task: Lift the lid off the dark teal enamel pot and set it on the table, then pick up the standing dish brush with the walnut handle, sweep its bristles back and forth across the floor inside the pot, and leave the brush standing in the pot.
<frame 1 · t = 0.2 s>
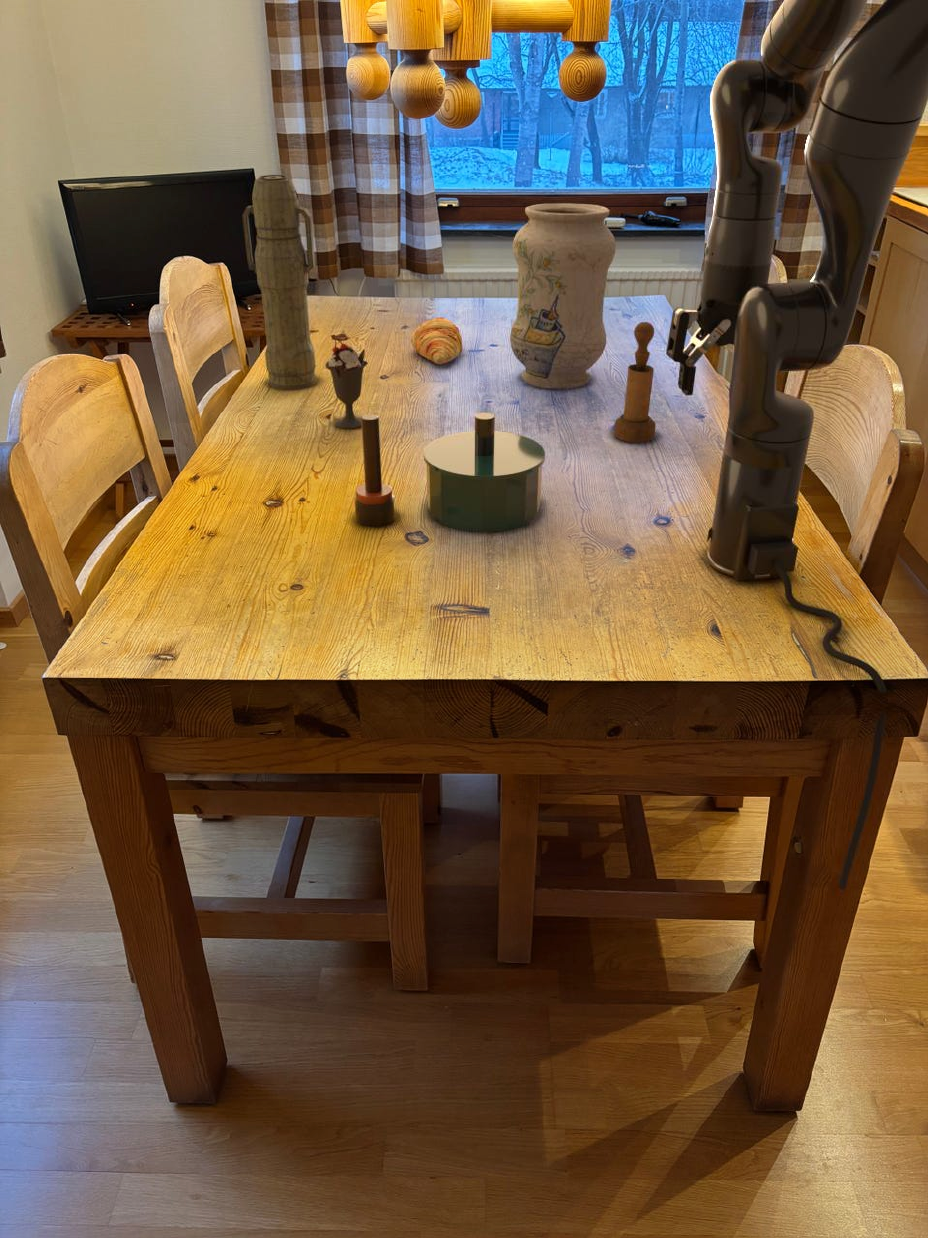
hand: (719, 391, 121), 17 cm above the table, tool pointing down, fingers open, 8 cm apart
lid: (484, 456, 129), point 7 cm above the table, touching pot
croissant: (436, 354, 195), on the table
brush: (375, 518, 130), on the table
vase: (556, 379, 181), on the table
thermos: (293, 382, 179), on the table
pot: (483, 507, 132), on the table
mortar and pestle: (633, 436, 156), on the table
sundae: (350, 424, 161), on the table
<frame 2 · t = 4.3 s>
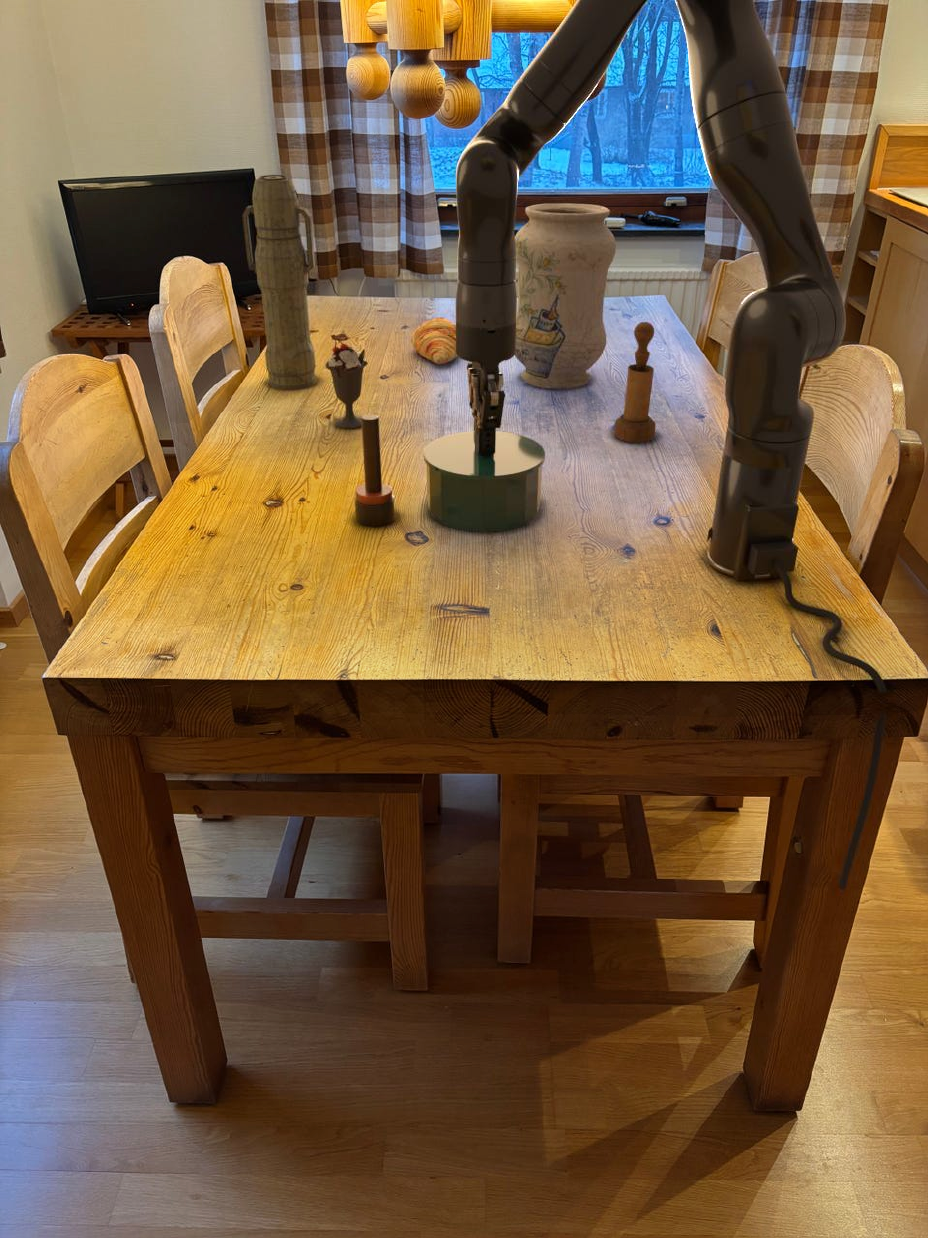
hand: (484, 449, 128), 9 cm above the table, tool pointing down, fingers closed on lid, 2 cm apart
lid: (484, 456, 129), point 7 cm above the table, touching gripper, pot
everything else where it was.
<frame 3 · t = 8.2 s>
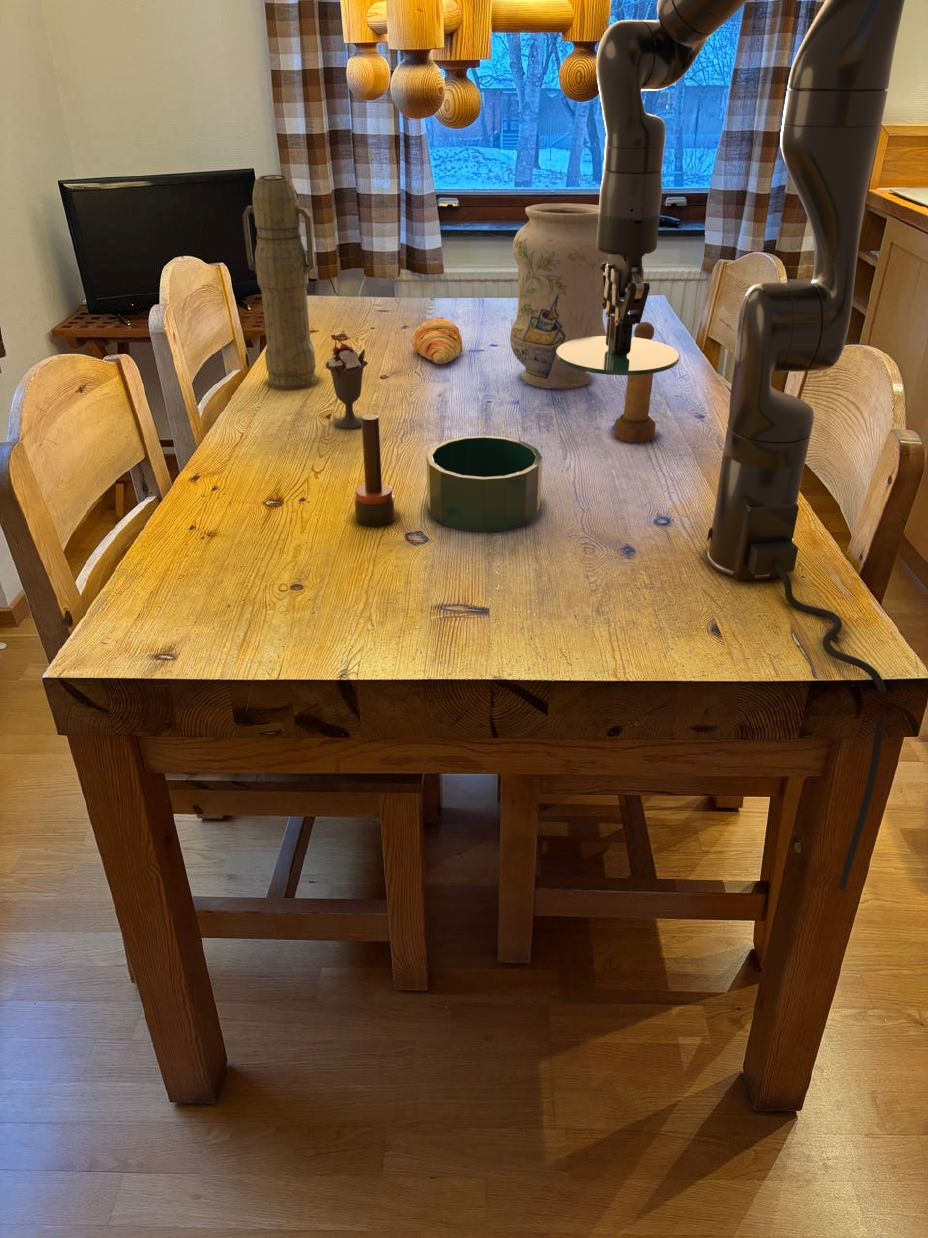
hand: (617, 349, 128), 20 cm above the table, tool pointing down, fingers closed on lid, 2 cm apart
lid: (617, 356, 128), point 19 cm above the table, touching gripper
everything else where it was.
when the fingers open (2 cm above the table, at t = 12.4 s): lid stays where it is, point 1 cm above the table.
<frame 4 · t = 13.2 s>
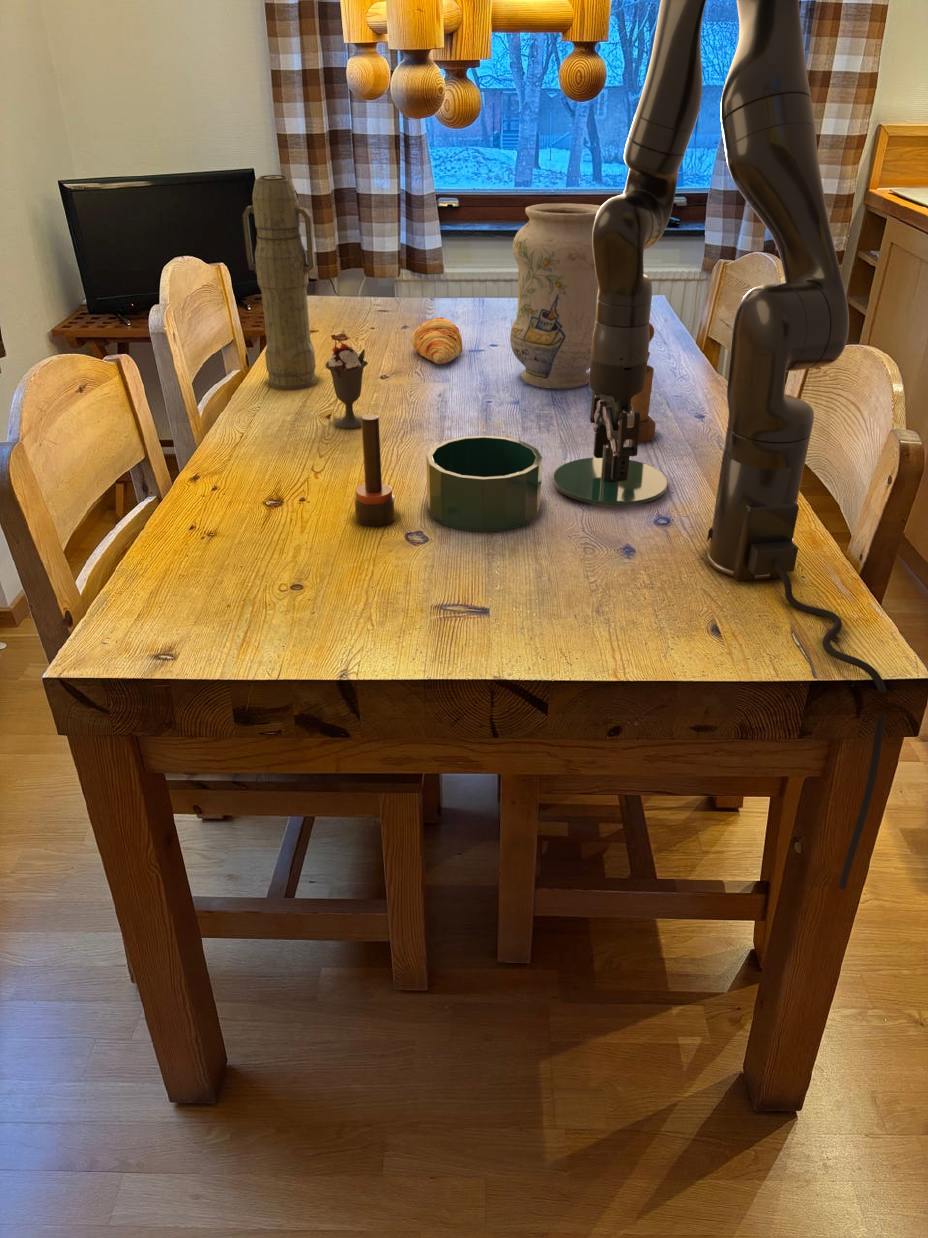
hand: (609, 468, 137), 3 cm above the table, tool pointing down, fingers open, 8 cm apart
lid: (609, 482, 138), point 1 cm above the table
everything else where it was.
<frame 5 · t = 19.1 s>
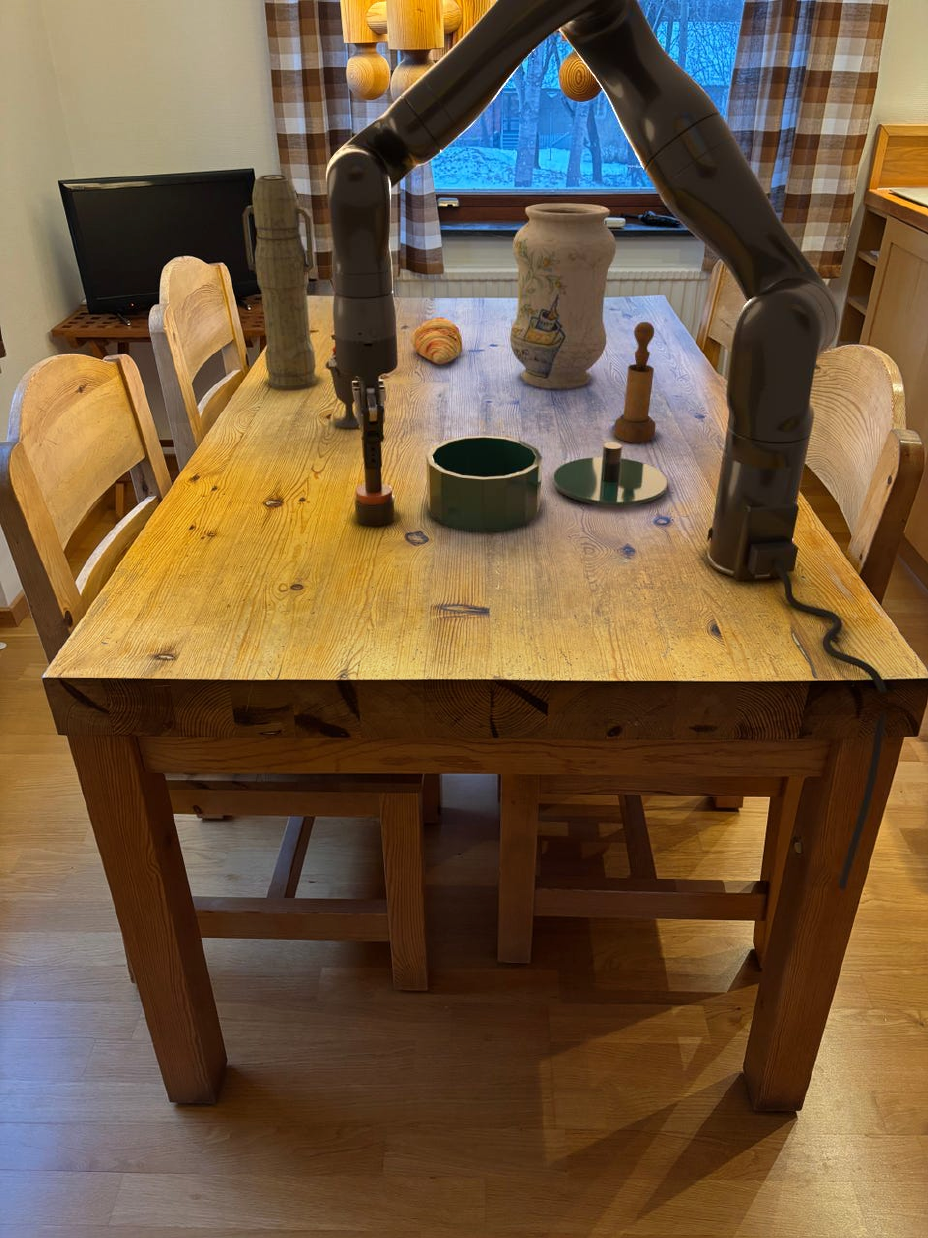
hand: (372, 463, 125), 8 cm above the table, tool pointing down, fingers closed on brush
brush: (375, 518, 129), on the table, touching gripper
everything else where it was.
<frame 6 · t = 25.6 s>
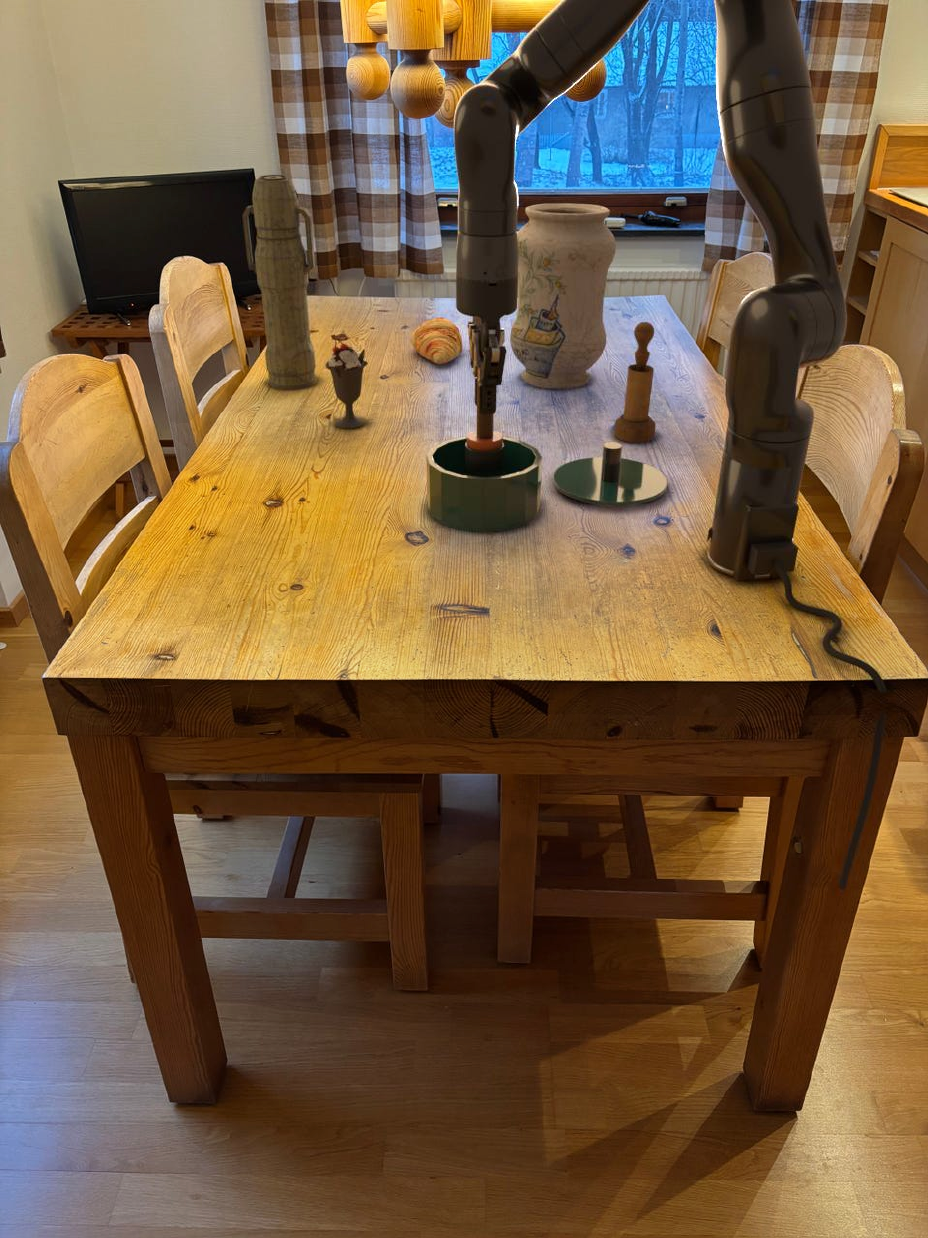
hand: (485, 409, 125), 14 cm above the table, tool pointing down, fingers closed on brush
brush: (484, 465, 129), point 6 cm above the table, touching gripper
everything else where it was.
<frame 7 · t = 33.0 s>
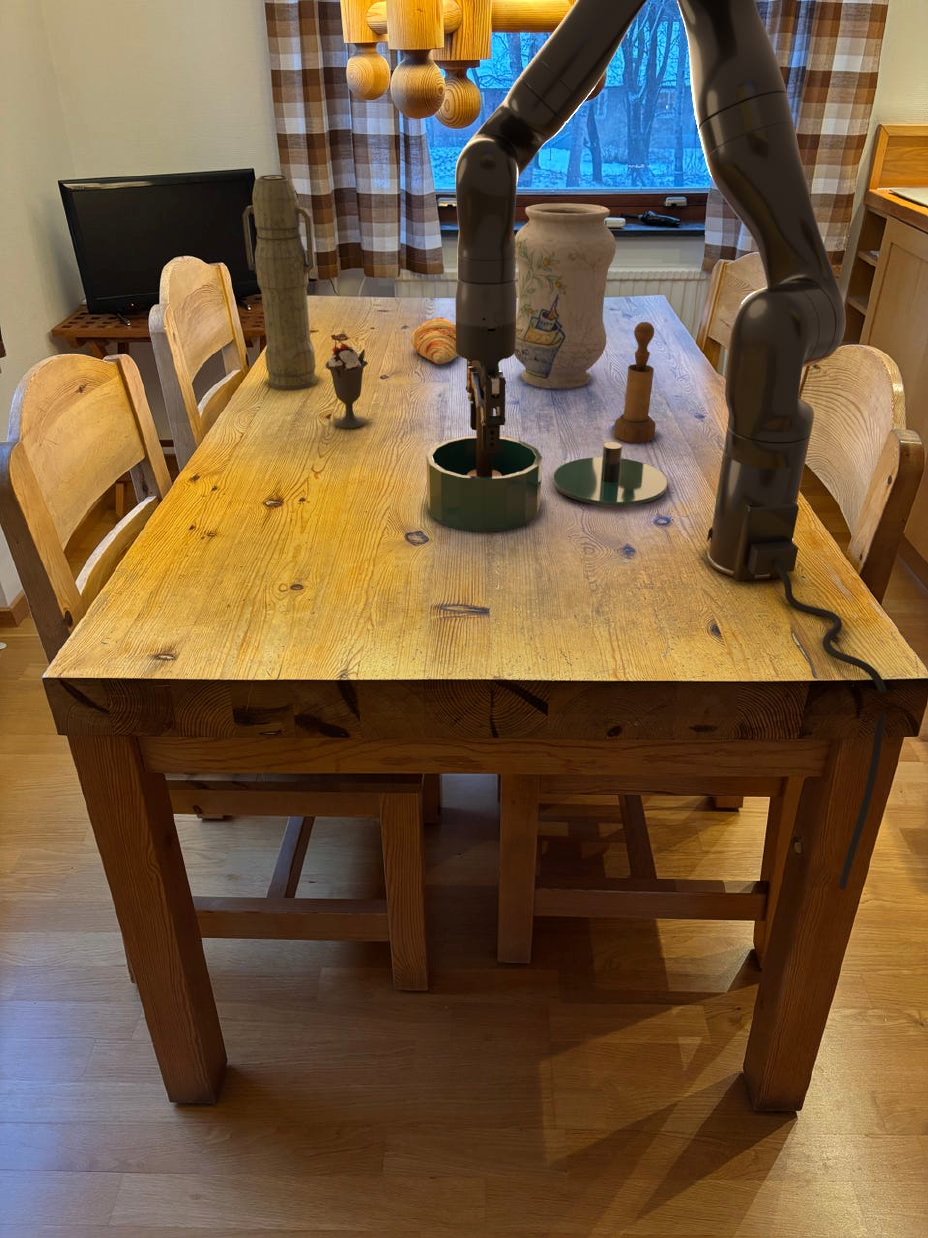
hand: (484, 440, 127), 10 cm above the table, tool pointing down, fingers open, 8 cm apart
brush: (483, 503, 132), resting on pot
everything else where it was.
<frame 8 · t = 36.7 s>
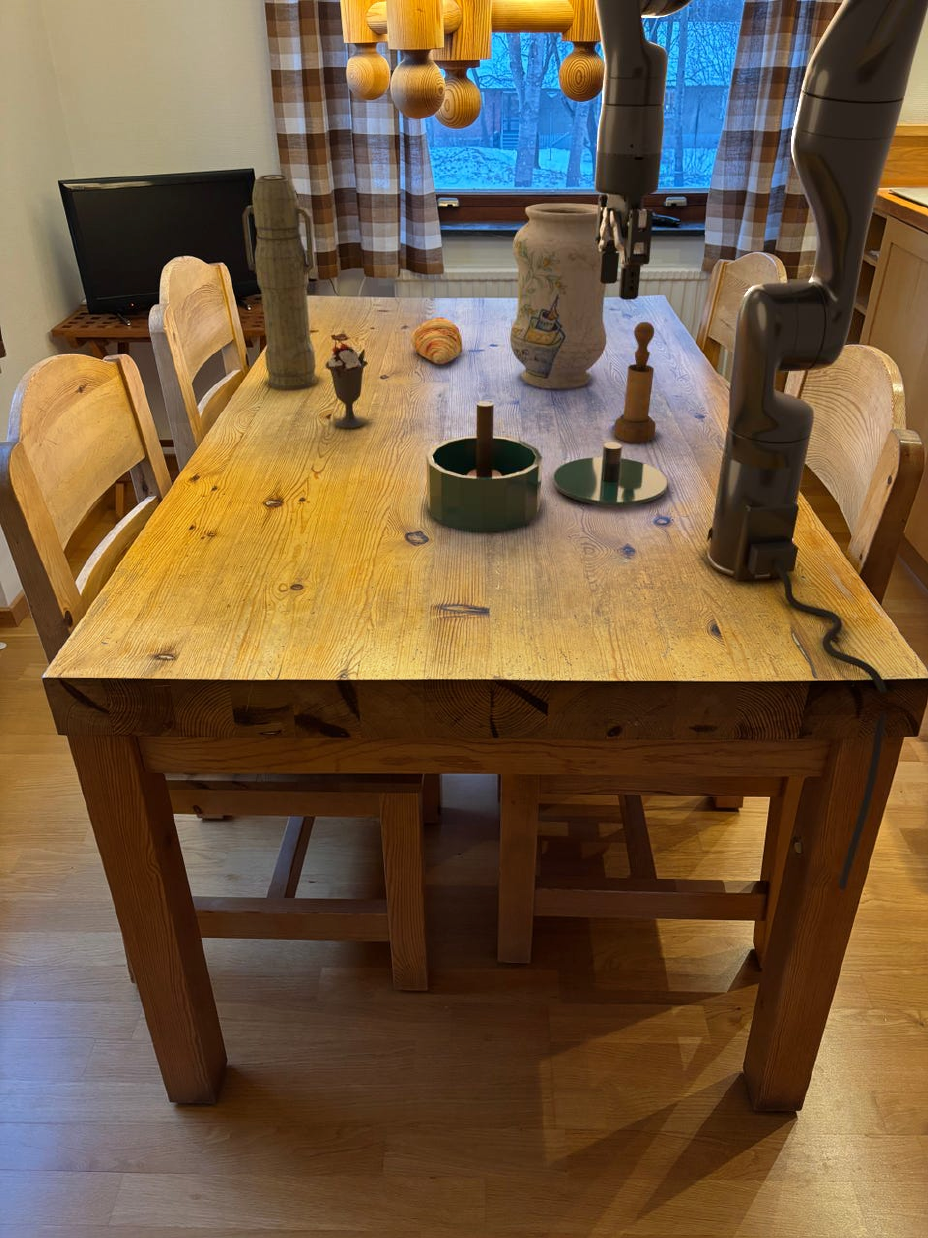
hand: (617, 290, 121), 28 cm above the table, tool pointing down, fingers open, 8 cm apart
nothing on the table moved.
at the end: lid inside the target area (0.3 cm from its centre), point 0.6 cm above the table; brush inside the target area in the pot (0.1 cm from its centre), point 0.5 cm above the pot's base; brush touching pot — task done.
